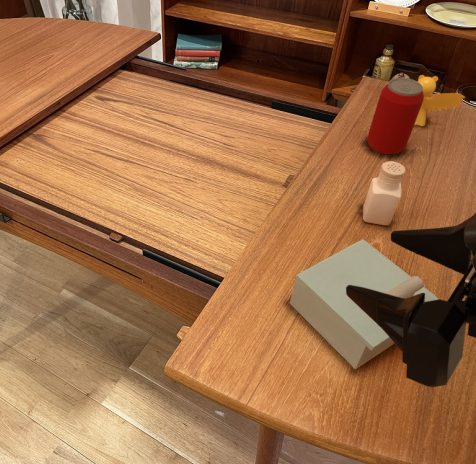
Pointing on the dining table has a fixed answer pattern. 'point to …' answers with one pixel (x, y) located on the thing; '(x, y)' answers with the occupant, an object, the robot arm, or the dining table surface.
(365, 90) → the dining table surface
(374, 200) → the pepper shaker
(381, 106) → the beverage can
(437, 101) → the figurine
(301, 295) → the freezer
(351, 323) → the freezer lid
